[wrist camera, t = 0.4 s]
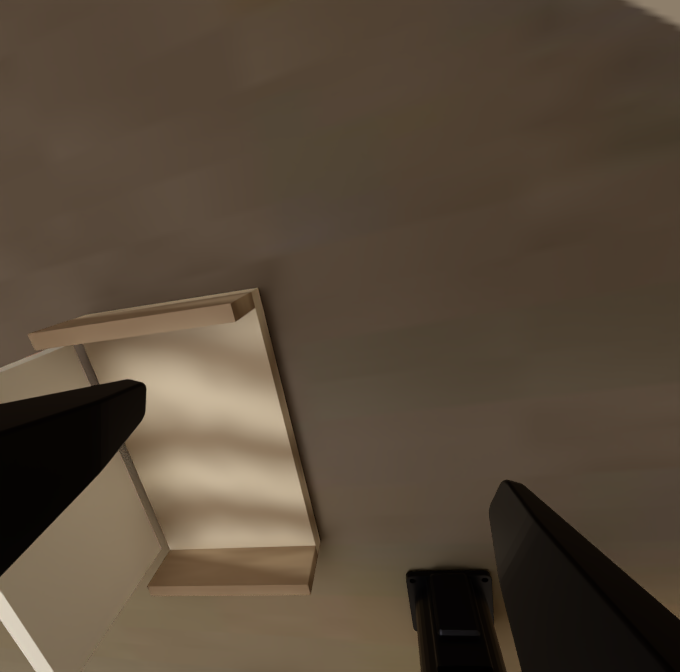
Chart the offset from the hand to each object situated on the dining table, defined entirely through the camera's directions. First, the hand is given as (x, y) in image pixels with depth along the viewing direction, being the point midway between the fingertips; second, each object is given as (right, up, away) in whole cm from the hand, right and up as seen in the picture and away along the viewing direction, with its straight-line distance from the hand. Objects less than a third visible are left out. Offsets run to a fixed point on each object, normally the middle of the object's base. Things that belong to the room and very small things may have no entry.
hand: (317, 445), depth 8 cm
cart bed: (-9, -5, +17) cm, 20 cm away
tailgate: (-16, -6, +17) cm, 24 cm away
